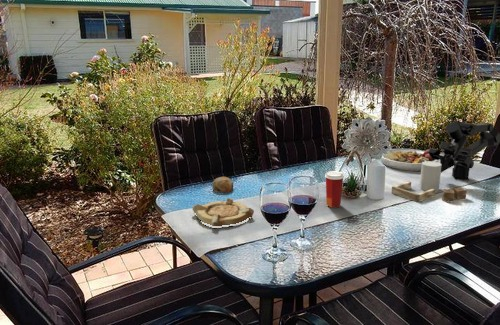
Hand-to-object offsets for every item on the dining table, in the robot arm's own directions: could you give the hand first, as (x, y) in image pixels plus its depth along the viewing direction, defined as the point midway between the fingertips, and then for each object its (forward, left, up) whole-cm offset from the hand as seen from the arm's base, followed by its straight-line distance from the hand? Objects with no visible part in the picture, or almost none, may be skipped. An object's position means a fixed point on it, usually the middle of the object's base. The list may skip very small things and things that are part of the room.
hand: (439, 172), depth 196 cm
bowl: (+8, -35, -7) cm, 37 cm away
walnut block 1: (0, +18, -7) cm, 19 cm away
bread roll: (+99, +18, -7) cm, 101 cm away
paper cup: (+48, +31, -7) cm, 58 cm away
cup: (+5, +5, -7) cm, 10 cm away
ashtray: (+91, +49, -7) cm, 104 cm away
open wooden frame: (+13, +13, -7) cm, 20 cm away
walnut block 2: (-5, +15, -7) cm, 17 cm away
